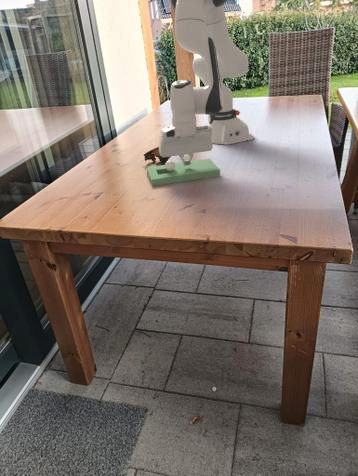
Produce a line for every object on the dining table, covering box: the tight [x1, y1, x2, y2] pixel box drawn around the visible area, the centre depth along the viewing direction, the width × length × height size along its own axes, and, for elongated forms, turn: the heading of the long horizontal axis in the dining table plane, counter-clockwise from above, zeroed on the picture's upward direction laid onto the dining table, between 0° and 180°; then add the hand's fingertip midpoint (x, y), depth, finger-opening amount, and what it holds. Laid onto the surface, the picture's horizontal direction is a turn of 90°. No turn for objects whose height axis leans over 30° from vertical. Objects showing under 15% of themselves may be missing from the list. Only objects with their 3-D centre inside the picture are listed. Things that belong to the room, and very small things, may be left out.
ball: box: [165, 159, 176, 171], centre depth 143 cm, size 4×4×4 cm
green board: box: [146, 158, 221, 187], centre depth 146 cm, size 26×14×2 cm, turn 102°
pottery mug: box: [143, 146, 172, 166], centre depth 159 cm, size 12×10×8 cm
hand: (186, 164), depth 144 cm, fingers closed
